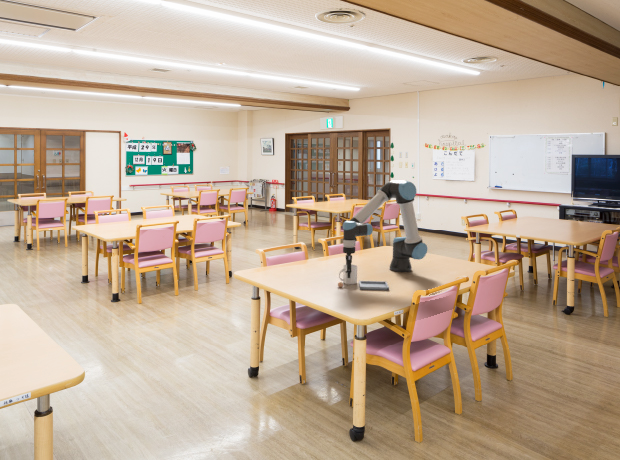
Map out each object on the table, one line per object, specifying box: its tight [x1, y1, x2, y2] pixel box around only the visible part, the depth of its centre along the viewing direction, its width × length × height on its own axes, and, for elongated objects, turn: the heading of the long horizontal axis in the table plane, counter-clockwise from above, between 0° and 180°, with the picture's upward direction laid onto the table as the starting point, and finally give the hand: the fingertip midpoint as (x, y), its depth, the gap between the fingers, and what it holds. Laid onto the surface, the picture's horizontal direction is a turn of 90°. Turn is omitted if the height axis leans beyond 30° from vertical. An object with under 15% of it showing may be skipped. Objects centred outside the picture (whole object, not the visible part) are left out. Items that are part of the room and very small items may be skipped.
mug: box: [338, 264, 358, 285], centre depth 302 cm, size 9×12×11 cm
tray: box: [358, 280, 390, 291], centre depth 294 cm, size 17×14×2 cm
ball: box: [337, 281, 344, 288], centre depth 292 cm, size 3×3×3 cm
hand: (348, 280), depth 303 cm, fingers open, 13 cm apart
